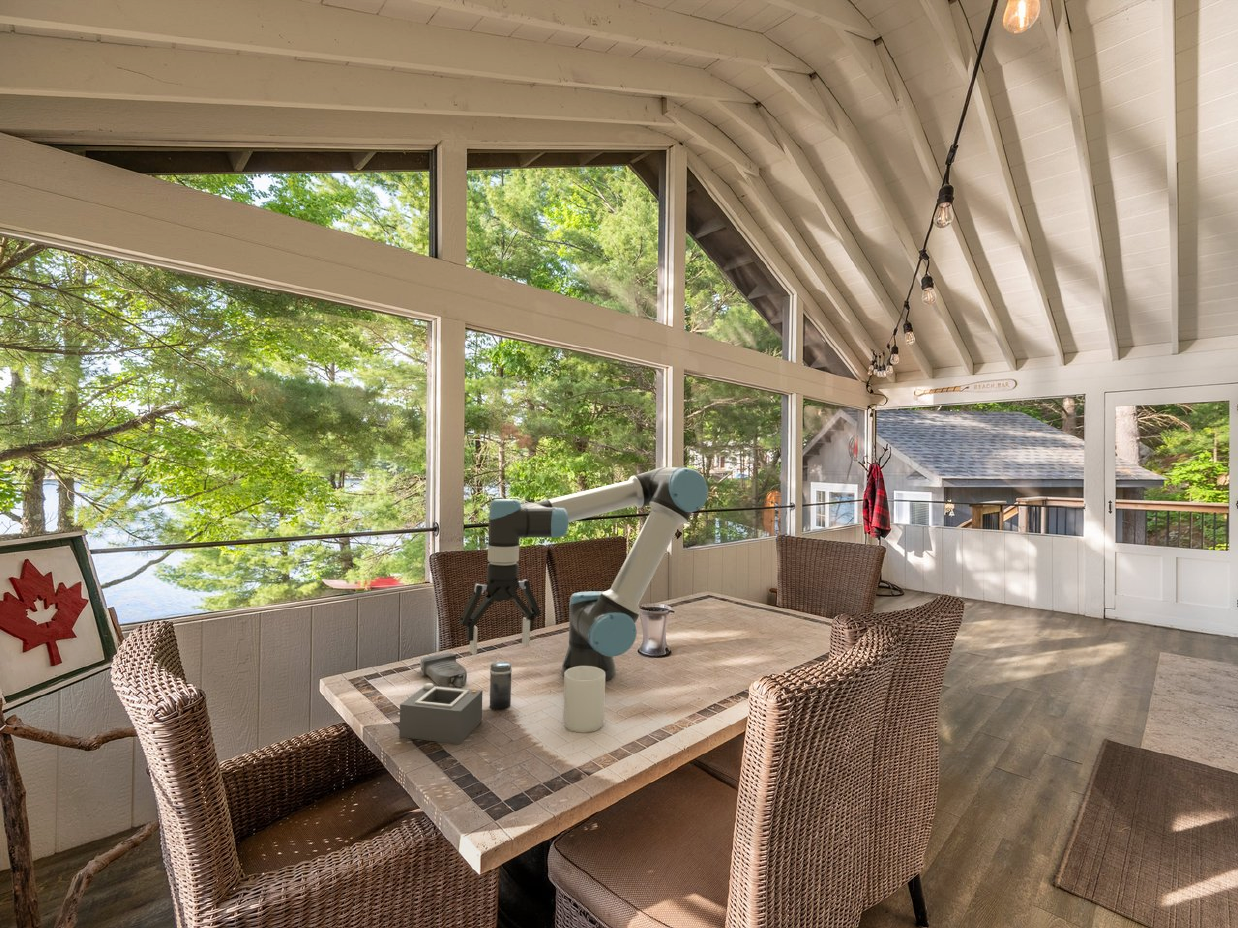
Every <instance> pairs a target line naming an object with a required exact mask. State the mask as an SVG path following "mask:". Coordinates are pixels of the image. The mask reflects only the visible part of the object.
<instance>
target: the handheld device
mask: <svg viewBox="0 0 1238 928" xmlns="http://www.w3.org/2000/svg"><path fill="white" fill-rule="evenodd" d="M419 667H420V672H421V674H420V675H421V676H422V677H429V678H430V679H431V680H432V681H433V682H434V683H435V684H437V686H442V687H452V688H462V687H463V686H465V685H466V683H467V678H468V677H467V676H468V673H467V670H466V668H465V667H464V666H463V665H462V664H460V663H459V662H457V656H456V655H455V654H454V653H449V652H445V653H440V654H436V655H431V656H426V657H423V658H420V662H419Z"/></svg>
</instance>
